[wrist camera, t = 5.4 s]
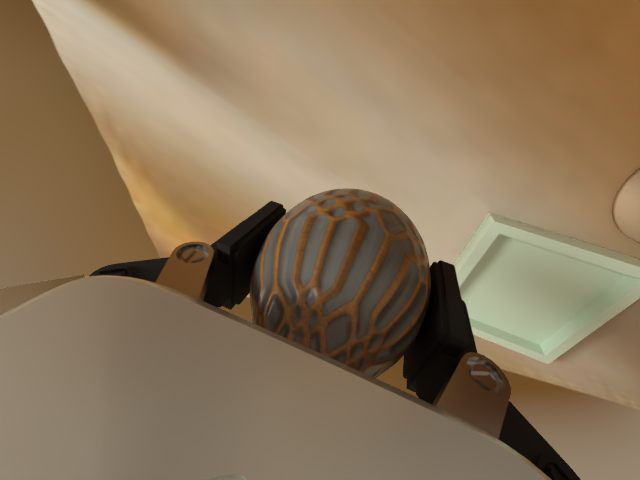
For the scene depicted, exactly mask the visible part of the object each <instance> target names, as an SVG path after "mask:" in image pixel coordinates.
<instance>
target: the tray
mask: <svg viewBox="0 0 640 480" xmlns="http://www.w3.org/2000/svg"><path fill="white" fill-rule="evenodd" d="M454 266H455V270H456V275H457V280H458V284H459V289H460V294H461V299H462V300H463V301H464V302H465V303H466V306H467V311H468V315H469V319H470V324H471V328H472V333H473V335H476V336H478V337H481V338H483V339H486V340H489V341H491V342H494V343H496V344H499V345H501V346H504V347H506V348H509V349H511V350H514V351H516V352H519V353H521V354H524V355H527V356H529V357H532V358H534V359H537V360H539V361H542V362H544V363H547V364H549V363H551V362H552V361H553V360H555V359H556V358H558V357H559V356H560V355H562V354H563V353H565V352H566V351H567V350H569V349H570V348H571V347H573V346H574V345H576V344H577V343H578V342H580V341H581V340H583V339H584V338H585V337H587V336H588V335H589V334H591V333H592V332H594V331H595V330H596V329H598V328H599V327H601V326H602V325H603V324H605V323H606V322H607V321H609V320H610V319H612V318H613V317H614V316H616V315H617V314H619V313H620V312H621V311H623V310H624V309H625V308H627V307H628V306H630V305H631V304H632V303H634V302H635V301H637V300H638V299H639V298H640V259H637V258H634V257H631V256H628V255H624V254H621V253H618V252H615V251H611V250H608V249H605V248H602V247H599V246H595V245H592V244H589V243H586V242H583V241H579V240H576V239H573V238H570V237H566V236H563V235H560V234H557V233H554V232H550V231H547V230H544V229H541V228H538V227H534V226H531V225H528V224H525V223H522V222H518V221H515V220H512V219H509V218H505V217H502V216H499V215H496V214H493V213H488V215H487V216H486V218H485V219H484V221H483V222H482V224H481V225H480V227H479V228H478V230H477V231H476V233H475V234H474V236H473V237H472V238H471V240H470V241H469V243H468V244H467V246H466V247H465V249H464V250H463V252H462V253H461V255H460V256H459V258H458V259H457V261H456V262H455V264H454Z"/></svg>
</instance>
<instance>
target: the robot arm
mask: <svg viewBox="0 0 640 480" xmlns="http://www.w3.org/2000/svg"><path fill="white" fill-rule="evenodd" d="M285 214H286V209H284V208H283V205H282V204H279V203H276V202H273V201H270V202H269V203H268V204H266V205H265V206H264V207H262V208H261V209H260V210H258V211H257V212H256V213H254V214H253V215H251V216H250V217H249V218H247V219H246V220H244V221H243V222H241V223H240V224H239V225H237V226H236V227H235V228H233V229H232V230H231V231H229V232H228V233H227V234H225V235H224V236H223V237H221V238H220V239H219V240H217V241H216V242H215V243H213V244H212V245H211V246H210V245H209V244H206V243H203V242H189V243H185V244H182V245H180V246H178V247H177V248H175V249H174V251H173V252H172V253H171V255H170V257H169V258H160V259H152V260H144V261H135V262H127V263H119V264H113V265H108V266H105V267H102V268H100V269H98V270H96V271H95V272H93V273H92V274H91V275H90V276H89V277H85V276H84V274H83V275H78V276H72V277H66V278H60V279H54V280H48V281H41V282H35V283H29V284H23V285H17V286H11V287H6V288H3V289H0V480H580V478H579V477H578V476H577V475H576V473H575V472H574V471H573V470H572V469H571V468H570V466H569V465H568V464H567V463H566V462H565V461H564V460H563V459H562V458H561V457H560V456H559V454H557V452H556V451H555V450H554V449H553V448H552V447H551V446H550V445H549V444H548V443H547V441H546V440H545V439H544V438H543V437H542V436H541V435H540V434H539V433H538V432H537V431H536V429H535V428H534V427H533V426H532V425H531V424H530V423H529V422H528V421H527V420H526V419H525V418H524V416H523V415H522V414H521V413H520V412H519V411H518V410H517V409H516V408H515V407H514V406H513V404H512V403H511V402H510V401H509V399H510V395H511V386H510V383H509V381H508V379H507V377H506V376H505V374H504V373H503V371H502V370H501V369H500V368H499V367H498V366H497V365H496V364H495V363H494V362H493V361H492V360H490V359H489V358H487V357H485V356H484V355H481V354H479V353H477V350H476V346H475V341H474V337H473V333H472V328H471V324H470V319H469V315H468V311H467V306H466V303H465V302H464V301H463V300H462V299H461V294H460V289H459V284H458V280H457V275H456V270H455V266H454V265H452V264H449V263H446V262H443V261H439V262H438V263H436V262H433V263H432V265H431V267H430V276H431V290H430V298H429V304H428V308H427V312H426V315H425V318H424V321H423V323H422V326H421V328H420V330H419V333H418V334H417V336H416V338H415V340H414V342H413V343H412V345H411V346H410V348H409V349H408V351H407V352H406V353H405V354H404V366H403V377H404V378H406V379H407V389H409V390H411V391H414V392H416V394H417V396H418V397H419V398H417V397H415V396H413V395H411V394H408V393H406V392H404V391H402V390H400V389H398V388H395V387H393V386H391V385H389V384H387V383H384V382H382V381H380V380H378V379H376V378H373V377H371V376H369V375H367V374H365V373H362V372H360V371H358V370H356V369H354V368H351V367H349V366H347V365H345V364H343V363H340V362H338V361H336V360H334V359H332V358H329V357H327V356H325V355H323V354H320V353H318V352H316V351H314V350H312V349H309V348H307V347H305V346H303V345H300V344H298V343H296V342H294V341H292V340H289V339H287V338H285V337H283V336H280V335H278V334H276V333H274V332H271V331H269V330H267V329H265V328H262V327H260V326H258V325H256V324H253V323H251V322H249V321H247V320H244V319H242V318H240V317H238V316H235V315H233V314H231V313H228V312H226V311H224V310H222V309H219V308H218V307H221V306H223V307H226V308H228V309H230V310H231V309H232V308H233V307H234V305H235V304H240V303H241V302H242V301H243V299H245V297H246V296H247V295H248V294H249V293H250V281H251V276H252V271H253V267H254V264H255V261H256V258H257V256H258V253H259V251H260V248H261V246H262V244H263V242H264V240H265V239H266V237H267V235H268V234H269V232H270V231H271V230H272V228H273V227H274V226H275V224H276V223H277V222H278V221H279V220H280V219H281V218H282V217H283V216H284V215H285Z"/></svg>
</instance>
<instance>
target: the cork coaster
mask: <svg viewBox="0 0 640 480" xmlns="http://www.w3.org/2000/svg"><path fill="white" fill-rule="evenodd" d="M612 214H613V219H614V222H615V224H616V226H617V227H618V228H619V229H620V231H621V232H623V233H624V234H625V235H627V236H628V237H630V238H631V239H633V240H635V241H637V242H639V243H640V168H639V169H638V170H637V171H636V172H634V173H633V174H632V175H631V176H630V177H629V178H628V179H627V180H626V182H625V183H624V184H623V185H622V187H621V188H620V190H619V191H618V193H617V195H616V197H615V200H614V203H613V208H612Z"/></svg>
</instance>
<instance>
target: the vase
mask: <svg viewBox="0 0 640 480" xmlns="http://www.w3.org/2000/svg"><path fill="white" fill-rule="evenodd" d="M430 290H431V276H430V267H429V260H428V256H427V252H426V248H425V245H424V242H423V240H422V238H421V236H420V234H419V232H418V230H417V229H416V227H415V225H414V224H413V223H412V221H411V220H410V219H409V217H408V216H407V215H406V214H405V213H404V212H403V211H402V210H401V209H400V208H398V207H397V206H396V205H395V204H393V203H392V202H391V201H389V200H387V199H386V198H384V197H382V196H379V195H377V194H375V193H372V192H368V191H365V190H359V189H335V190H329V191H325V192H322V193H319V194H316V195H314V196H311V197H309V198H307V199H305V200H304V201H302V202H301V203H299V204H298V205H296V206H295V207H293V208H292V209H291V210H290V211H288V212H287V213H286V214H285V215H284V216H283V217H282V218H281V219H280V220H279V221H278V222H277V223H276V224H275V226H274V227H273V228H272V230H271V231H270V232H269V234H268V235H267V237H266V239H265V240H264V242H263V244H262V246H261V248H260V251H259V253H258V256H257V258H256V261H255V264H254V267H253V271H252V276H251V281H250V306H251V316H252V323H253V324H256V325H258V326H260V327H262V328H265V329H267V330H269V331H271V332H274V333H276V334H278V335H280V336H283V337H285V338H287V339H289V340H292V341H294V342H296V343H298V344H300V345H303V346H305V347H307V348H309V349H312V350H314V351H316V352H318V353H320V354H323V355H325V356H327V357H329V358H332V359H334V360H336V361H338V362H340V363H343V364H345V365H347V366H349V367H351V368H354V369H356V370H358V371H360V372H362V373H365V374H367V375H369V376H371V377H373V378H377V377H378V376H379V375H380V374H382V373H383V372H385V371H386V370H388V369H389V368H390V367H391V366H392V365H394V364H395V363H396V362H397V361H398V360H399V359H400V358H401V357H402V356H403V355H404V354H405V353H406V352H407V351H408V349H409V348H410V346H411V345H412V343H413V342H414V340H415V338H416V336H417V334H418V333H419V330H420V328H421V326H422V323H423V321H424V318H425V315H426V312H427V308H428V304H429V298H430Z"/></svg>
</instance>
